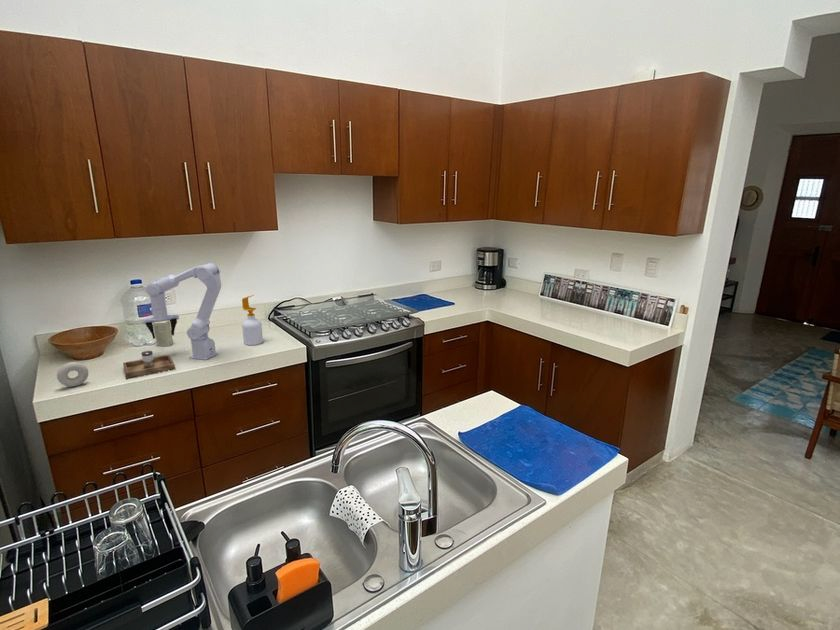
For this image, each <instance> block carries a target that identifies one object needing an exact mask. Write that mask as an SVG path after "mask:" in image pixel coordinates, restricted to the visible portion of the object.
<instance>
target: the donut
mask: <svg viewBox="0 0 840 630" xmlns="http://www.w3.org/2000/svg"><path fill="white" fill-rule="evenodd" d="M73 371H76V372H77V376H75V377H70V376H69V373H70V372H73ZM88 377H89V369H88V367H87V366H86V365H85V364H83V363H81V362H77V361H69V362H67V363H65V364H63V365H61V366H60V367H59V369H58V370H57V373H56V379H57V380H58V382H59V383H60V384H61V385H63V386H65V387H78V386H80V385H82V384H83V383H85V382H86V380H87V379H88Z"/></svg>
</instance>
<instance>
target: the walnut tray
mask: <svg viewBox="0 0 840 630" xmlns="http://www.w3.org/2000/svg"><path fill="white" fill-rule="evenodd" d="M153 359H154V365H155V367H152V368H147V369H144V365H143V359H136V360H131V361H126V362H123V363H122V364H123V372H124V375H125V379H126V380H128V379H129V378H130V379H134V377H135V378H138V377H139V376H140V377H144V375H145V376H149V374H150V375H154V373H155V374H158V372H160V373H164V372H163V371H165V372H169V371H168V370H170V371H174V370H173V369H175V370H176V366H175V365H176V364H175V363H174V360H173V359H172V356H171V354H164V355H159V356H153ZM130 379H129V380H130Z"/></svg>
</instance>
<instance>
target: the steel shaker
mask: <svg viewBox="0 0 840 630" xmlns="http://www.w3.org/2000/svg"><path fill="white" fill-rule="evenodd" d="M153 357H154V353H153V350H145V351H142V352H141V358H142V359H143V365H144V369H147V368H152V367H155V365H154V359H153Z"/></svg>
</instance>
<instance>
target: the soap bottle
mask: <svg viewBox="0 0 840 630" xmlns="http://www.w3.org/2000/svg"><path fill="white" fill-rule="evenodd" d="M251 297H254V294H252V295H249V296H246V297H243V298H242V300H241V303H242V309H243V311H247V312H248V313H247V319H245V320H244V321H243V322H242V325H241V326H242V327H241V328H242V334H243V335H242V337H243V344H244V345H246V346H256V345H259V344H262V343H263V342H264V338H263V327H262V325H263V324H262V322H261V320H260V319H258V318H255V317H256V315H255V313H253V312H254V311H255V310H256V309H257V308H256V307H250V305H249V304H250V303H249V298H251Z"/></svg>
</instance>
